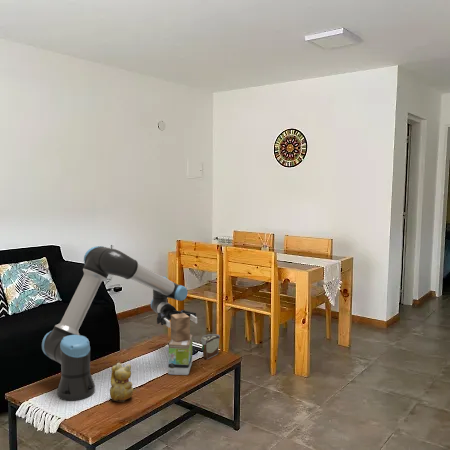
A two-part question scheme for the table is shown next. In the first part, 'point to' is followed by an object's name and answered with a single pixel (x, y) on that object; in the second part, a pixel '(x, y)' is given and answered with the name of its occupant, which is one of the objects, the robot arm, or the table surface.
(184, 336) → the walnut block
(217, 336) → the food container
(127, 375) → the decorative figurine
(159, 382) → the table surface
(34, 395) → the table surface
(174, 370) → the tea box
